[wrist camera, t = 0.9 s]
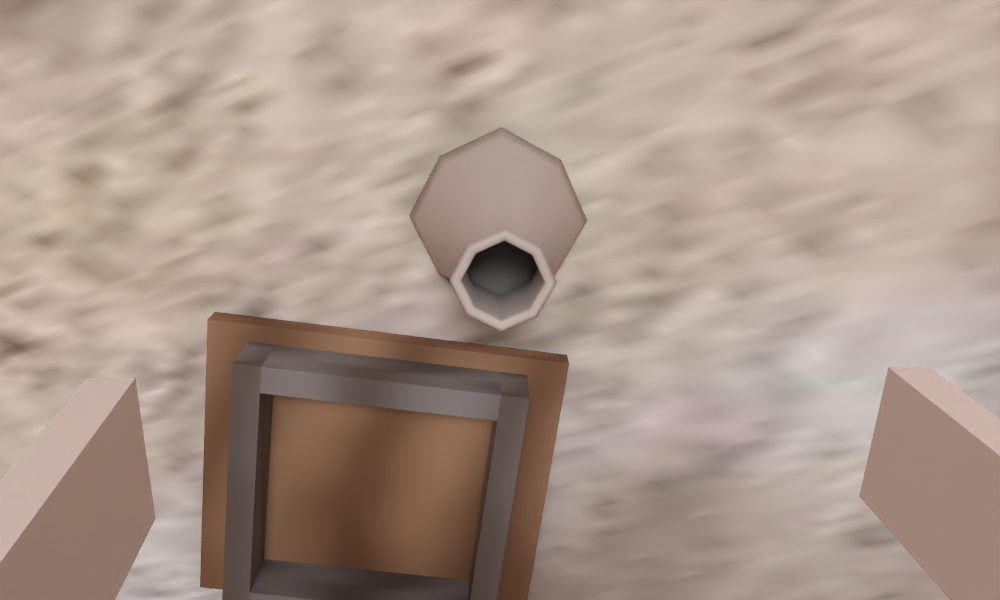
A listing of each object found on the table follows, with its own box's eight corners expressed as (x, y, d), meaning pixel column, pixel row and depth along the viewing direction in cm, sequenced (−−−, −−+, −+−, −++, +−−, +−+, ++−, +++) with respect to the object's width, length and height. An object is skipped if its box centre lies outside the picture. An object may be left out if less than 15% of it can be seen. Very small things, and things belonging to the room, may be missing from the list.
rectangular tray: (566, 354, 37) (574, 386, 34) (522, 606, 41) (525, 656, 38) (215, 311, 36) (187, 339, 33) (207, 574, 40) (181, 622, 37)
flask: (494, 326, 36) (497, 428, 27) (380, 212, 35) (341, 278, 25) (615, 219, 35) (663, 287, 26) (502, 95, 33) (509, 117, 24)
